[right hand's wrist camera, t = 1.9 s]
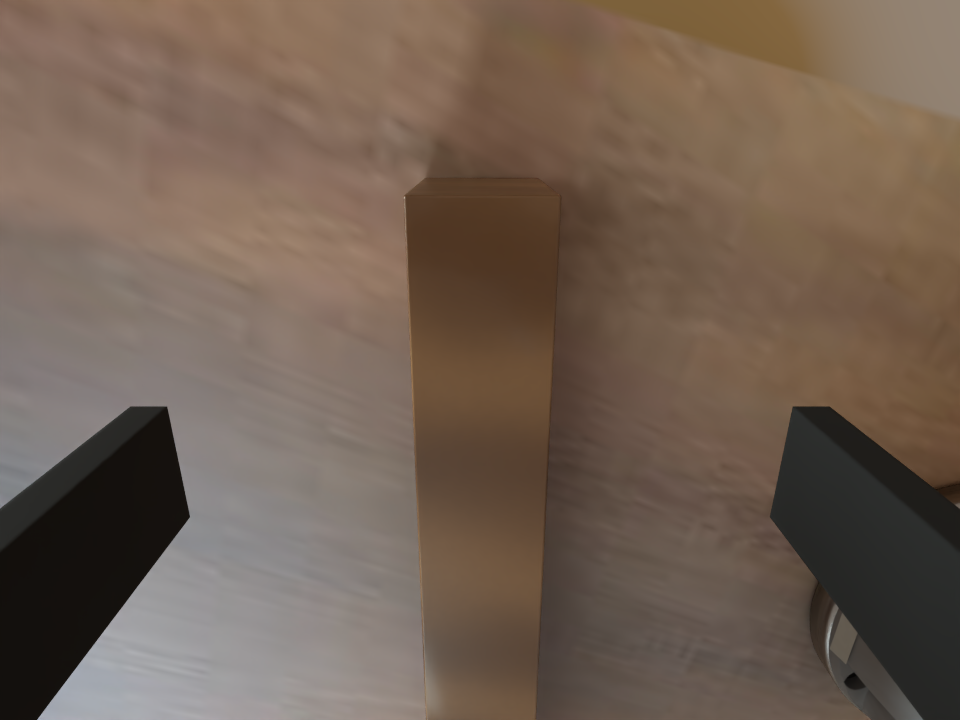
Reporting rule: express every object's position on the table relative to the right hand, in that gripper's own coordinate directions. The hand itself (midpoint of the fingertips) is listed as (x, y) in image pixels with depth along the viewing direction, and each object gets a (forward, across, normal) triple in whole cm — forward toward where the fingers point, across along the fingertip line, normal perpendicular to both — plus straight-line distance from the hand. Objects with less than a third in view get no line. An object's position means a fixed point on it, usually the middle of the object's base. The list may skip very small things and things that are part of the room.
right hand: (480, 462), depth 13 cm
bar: (+15, 0, -31) cm, 34 cm away
